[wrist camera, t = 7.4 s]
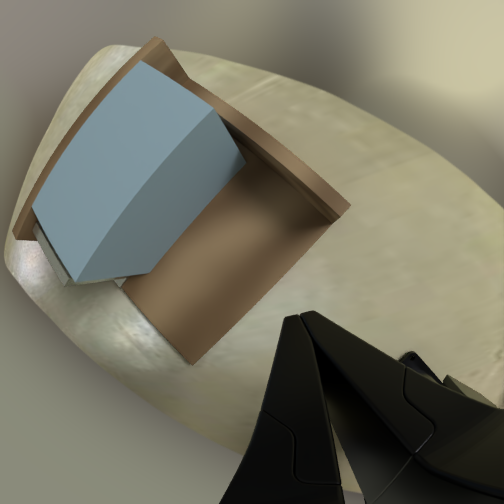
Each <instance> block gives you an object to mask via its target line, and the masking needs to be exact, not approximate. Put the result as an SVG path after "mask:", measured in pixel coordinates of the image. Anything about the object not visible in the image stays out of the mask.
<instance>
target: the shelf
mask: <svg viewBox="0 0 504 504" xmlns="http://www.w3.org/2000/svg"><path fill="white" fill-rule="evenodd" d="M140 60H141V61H143V62H145V63H146V64H148V65H150V66H151V67H153V68H154V69H156V70H158V71H159V72H161V73H163V74H164V75H166V76H167V77H169V78H170V79H172V80H173V81H175V82H177V83H178V84H180V85H181V86H183V87H184V88H186V89H187V90H189V91H190V92H192V93H193V94H195V95H196V96H197V97H199V98H200V99H202V100H203V101H205V102H206V103H207V104H209V105H210V106H212V107H213V108H214V109H215V111H216V112H217V114H218V116H219V117H220V119H221V121H222V122H223V124H224V126H225V127H226V129H227V131H228V132H229V134H230V136H231V137H232V139H233V141H234V142H235V144H236V146H237V148H238V149H239V151H240V153H241V154H242V156H243V158H244V160H245V161H246V164H245V165H244V166H243V167H242V168H241V169H240V170H239V171H238V172H237V173H236V174H235V176H234V177H233V178H232V179H231V180H230V181H229V182H228V183H227V184H226V185H225V186H224V187H223V188H222V189H221V190H220V192H219V193H218V194H217V195H216V196H215V197H214V198H213V199H212V200H211V201H210V203H209V204H208V205H207V206H206V207H205V208H204V209H203V210H202V211H201V213H200V214H199V215H198V216H197V217H196V218H195V219H194V220H193V222H192V223H191V224H190V225H189V226H188V227H187V228H186V230H185V231H184V232H183V233H182V234H181V235H180V237H179V238H178V239H177V240H176V241H175V242H174V244H173V245H172V246H171V247H170V248H169V250H168V251H167V252H166V253H165V254H164V256H163V257H162V258H161V259H160V260H159V262H158V263H157V264H156V265H155V267H154V268H153V269H152V270H151V271H150V273H146V274H138V275H131V276H130V277H129V278H128V279H127V281H126V282H125V283H124V285H123V286H122V289H123V290H124V291H125V292H126V293H127V295H128V296H129V297H130V298H131V300H132V301H133V302H134V303H135V304H136V305H137V307H138V308H139V309H140V310H141V311H142V312H143V314H144V315H145V316H146V317H147V318H148V319H149V320H150V322H151V323H152V324H153V325H154V326H155V327H156V328H157V329H158V330H159V332H160V333H161V334H162V335H163V336H164V337H165V338H166V339H167V340H168V341H169V342H170V343H171V344H172V345H173V346H174V347H175V348H176V350H177V351H178V352H179V353H180V354H181V355H182V356H183V357H184V358H185V359H186V360H187V361H188V362H189V363H190V364H191V365H192V366H193V365H194V364H195V363H196V362H197V361H198V360H199V359H200V358H201V357H202V356H203V355H204V354H205V353H206V352H207V351H208V350H209V349H210V348H212V347H213V346H214V345H215V344H216V343H217V342H218V341H219V340H220V339H221V338H222V337H223V336H224V335H225V334H226V333H227V332H228V331H229V330H230V329H231V328H232V327H233V326H234V325H235V324H236V323H237V322H238V321H239V320H240V319H241V318H242V317H243V316H244V315H245V314H246V313H247V312H248V311H249V310H250V309H251V308H252V307H253V306H254V305H255V304H256V303H257V302H258V301H259V300H260V299H261V298H262V297H263V296H264V295H265V294H266V293H267V292H268V291H269V290H270V289H271V288H272V287H273V286H274V285H275V284H276V283H277V282H278V281H279V280H280V279H281V278H282V277H283V276H284V275H285V274H286V273H287V272H288V271H289V270H290V268H291V267H292V266H293V265H294V264H295V263H296V262H297V261H298V260H299V259H300V258H301V257H302V256H303V255H304V254H305V253H306V252H307V251H308V250H309V248H310V247H311V246H312V245H313V244H314V243H315V242H316V241H317V240H318V239H319V238H320V237H321V236H322V235H323V233H324V232H325V231H326V230H327V229H328V228H329V227H330V226H331V225H332V224H333V223H334V222H335V221H336V220H337V219H339V218H340V217H341V216H342V215H343V214H344V213H345V211H346V210H347V209H348V208H349V207H350V206H351V204H350V203H349V202H347V201H346V200H345V199H344V198H343V197H342V196H341V195H340V194H339V193H338V192H337V191H336V190H335V189H333V188H332V187H331V186H330V185H329V184H328V183H327V182H326V181H325V180H324V179H322V178H321V177H320V176H319V175H318V174H317V173H316V172H314V171H313V170H312V169H311V168H310V167H309V166H307V165H306V164H305V163H304V162H303V161H302V160H300V159H299V158H298V157H297V156H296V155H294V154H293V153H292V152H291V151H290V150H288V149H287V148H286V147H285V146H283V145H282V144H281V143H280V142H278V141H277V140H276V139H275V138H273V137H272V136H271V135H270V134H268V133H267V132H266V131H264V130H263V129H262V128H260V127H259V126H258V125H256V124H255V123H254V122H252V121H251V120H250V119H248V118H247V117H246V116H244V115H243V114H242V113H240V112H239V111H237V110H236V109H235V108H233V107H232V106H230V105H229V104H227V103H226V102H225V101H223V100H222V99H220V98H219V97H217V96H216V95H214V94H213V93H211V92H210V91H208V90H207V89H205V88H204V87H202V86H201V85H199V84H198V83H196V82H194V81H193V80H191V79H190V78H189V77H188V76H187V74H186V73H185V71H184V70H183V68H182V67H181V65H180V64H179V62H178V61H177V59H176V58H175V56H174V55H173V53H172V52H171V51H170V49H169V48H168V46H167V45H166V44H165V42H164V41H163V40H162V39H160V38H158V37H153V38H152V39H151V40H150V41H149V42H148V43H147V44H146V45H144V46H143V47H142V48H141V49H140V50H139V51H138V52H137V53H136V54H135V55H134V56H133V57H132V58H130V59H129V60H128V61H127V62H126V63H125V64H124V65H123V66H122V67H121V68H120V69H119V71H118V72H117V73H116V74H115V75H114V76H113V77H112V78H111V79H110V80H109V81H108V82H107V83H106V84H105V86H104V87H103V88H102V89H101V90H100V91H99V92H98V94H97V95H96V96H95V97H94V98H93V100H92V101H91V102H90V103H89V104H88V106H87V107H86V108H85V109H84V111H83V112H82V113H81V114H80V116H79V117H78V118H77V120H76V121H75V122H74V124H73V125H72V126H71V128H70V129H69V131H68V132H67V133H66V135H65V136H64V138H63V139H62V141H61V142H60V144H59V145H58V147H57V148H56V150H55V151H54V153H53V154H52V156H51V157H50V159H49V161H48V162H47V164H46V166H45V167H44V169H43V171H42V172H41V174H40V176H39V178H38V179H37V181H36V183H35V185H34V187H33V188H32V190H31V192H30V194H29V196H28V198H27V200H26V202H25V204H24V206H23V208H22V210H21V212H20V214H19V217H18V219H17V221H16V223H15V226H14V228H13V230H12V232H13V234H14V236H15V239H16V240H29V241H37V239H36V237H35V235H34V233H33V231H32V230H33V228H34V226H35V224H36V222H39V220H38V218H37V216H36V214H35V212H34V210H33V208H32V205H33V203H34V201H35V199H36V197H37V195H38V193H39V192H40V190H41V188H42V186H43V185H44V183H45V181H46V179H47V178H48V176H49V174H50V173H51V171H52V169H53V168H54V166H55V165H56V163H57V161H58V160H59V158H60V157H61V155H62V154H63V152H64V151H65V149H66V148H67V146H68V145H69V143H70V142H71V141H72V139H73V138H74V136H75V135H76V134H77V132H78V131H79V129H80V128H81V127H82V125H83V124H84V123H85V122H86V120H87V119H88V118H89V116H90V115H91V114H92V113H93V111H94V110H95V109H96V108H97V107H98V105H99V104H100V103H101V102H102V101H103V99H104V98H105V97H106V96H107V95H108V94H109V93H110V91H111V90H112V89H113V88H114V87H115V86H116V85H117V84H118V83H119V82H120V81H121V79H122V78H123V77H124V76H125V75H126V74H127V73H128V72H129V71H130V70H131V69H132V68H133V67H134V66H135V65H136V64H137V63H138V62H139V61H140Z"/></svg>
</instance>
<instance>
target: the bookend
mask: <svg viewBox="0 0 504 504" xmlns="http://www.w3.org/2000/svg"><path fill="white" fill-rule="evenodd" d="M32 231H33V233H34V235H35V237H36V239H37V241H38V242H39V244H40V246H41V248H42V250H43V252H44V254H45V255H46V257H47V259H48V261H49V262H50V264H51V266H52V268H53V269H54V271H55V273H56V274H57V276H58V278H59V279H60V281H61V282H62V284H63V286H64V287H65V286H73V285H80V284H88V283H95V282H103V281H110V280H114V281H115V282H116V284H117V285H118V286H119V288H120V287H122V286H123V285H124V283H125V282H126V281H127V279H128V278H129V277H130V276H123V277H115V278H107V279H99V280H90V281H82V282H75V281H74V280H73V278H72V277H71V275H70V274H69V272H68V270H67V269H66V267H65V266H64V264H63V262H62V261H61V259H60V258H59V256H58V254H57V253H56V251H55V249H54V247H53V246H52V244H51V242H50V241H49V239H48V237H47V235H46V233H45V231H44V230H43V228H42V226H41V224H40V222H36V224H35V226H34V228H33V230H32Z"/></svg>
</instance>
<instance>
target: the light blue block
mask: <svg viewBox="0 0 504 504" xmlns="http://www.w3.org/2000/svg"><path fill="white" fill-rule="evenodd" d="M245 164H246V161H245V160H244V158H243V156H242V154H241V153H240V151H239V149H238V148H237V146H236V144H235V142H234V141H233V139H232V137H231V136H230V134H229V132H228V131H227V129H226V127H225V126H224V124H223V122H222V121H221V119H220V117H219V116H218V114H217V112H216V111H215V109H214V108H213V107H212V106H210V105H209V104H207V103H206V102H205V101H203V100H202V99H200V98H199V97H197V96H196V95H195V94H193V93H192V92H190V91H189V90H187V89H186V88H184V87H183V86H181V85H180V84H178V83H177V82H175V81H173V80H172V79H170V78H169V77H167V76H166V75H164V74H163V73H161V72H159V71H158V70H156V69H154V68H153V67H151V66H150V65H148V64H146V63H145V62H143V61H141V60H140V61H139V62H138V63H137V64H136V65H135V66H134V67H133V68H132V69H131V70H130V71H129V72H128V73H127V74H126V75H125V76H124V77H123V78H122V79H121V81H120V82H119V83H118V84H117V85H116V86H115V87H114V88H113V89H112V90H111V91H110V93H109V94H108V95H107V96H106V97H105V98H104V99H103V101H102V102H101V103H100V104H99V105H98V107H97V108H96V109H95V110H94V111H93V113H92V114H91V115H90V116H89V118H88V119H87V120H86V122H85V123H84V124H83V125H82V127H81V128H80V129H79V131H78V132H77V134H76V135H75V136H74V138H73V139H72V141H71V142H70V143H69V145H68V146H67V148H66V149H65V151H64V152H63V154H62V155H61V157H60V158H59V160H58V161H57V163H56V165H55V166H54V168H53V169H52V171H51V173H50V174H49V176H48V178H47V179H46V181H45V183H44V185H43V186H42V188H41V190H40V192H39V193H38V195H37V197H36V199H35V201H34V203H33V205H32V208H33V210H34V212H35V214H36V216H37V218H38V220H39V222H40V224H41V226H42V228H43V230H44V231H45V233H46V235H47V237H48V239H49V241H50V242H51V244H52V246H53V247H54V249H55V251H56V253H57V254H58V256H59V258H60V259H61V261H62V262H63V264H64V266H65V267H66V269H67V270H68V272H69V274H70V275H71V277H72V278H73V280H74V281H75V282H82V281H90V280H99V279H107V278H115V277H123V276H131V275H138V274H146V273H150V271H151V270H152V269H153V268H154V267H155V265H156V264H157V263H158V262H159V260H160V259H161V258H162V257H163V256H164V254H165V253H166V252H167V251H168V250H169V248H170V247H171V246H172V245H173V244H174V242H175V241H176V240H177V239H178V238H179V237H180V235H181V234H182V233H183V232H184V231H185V230H186V228H187V227H188V226H189V225H190V224H191V223H192V222H193V220H194V219H195V218H196V217H197V216H198V215H199V214H200V213H201V211H202V210H203V209H204V208H205V207H206V206H207V205H208V204H209V203H210V201H211V200H212V199H213V198H214V197H215V196H216V195H217V194H218V193H219V192H220V190H221V189H222V188H223V187H224V186H225V185H226V184H227V183H228V182H229V181H230V180H231V179H232V178H233V177H234V176H235V174H236V173H237V172H238V171H239V170H240V169H241V168H242V167H243V166H244V165H245Z"/></svg>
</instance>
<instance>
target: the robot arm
mask: <svg viewBox="0 0 504 504" xmlns="http://www.w3.org/2000/svg"><path fill="white" fill-rule="evenodd" d="M412 355H413V358H412V359H410V357H411V356H412ZM330 421H331V423H332V425H333V427H334V430H335V432H336V434H337V436H338V439H339V441H340V443H341V445H342V448H343V450H344V452H345V455H346V457H347V459H348V461H349V464H350V466H351V468H352V470H353V473H354V475H355V477H356V479H357V482H358V484H359V486H360V489H361V491H362V493H363V495H364V500H365V504H504V409H500V408H497V407H496V405H494V404H493V403H492V402H490V401H489V400H488V399H487V398H485V397H484V396H483V395H481V394H480V393H478V392H477V391H475V390H473V389H472V388H470V387H468V386H466V385H465V384H463V383H461V382H459V381H458V380H456V379H454V378H453V377H451V376H449V375H446V377H445V378H444V380H443V383H442V382H441V381H440V380H439V379H438V377H437V376H436V375H435V374H434V373H433V372H432V370H431V369H430V368H429V367H428V366H427V365H426V364H425V363H424V361H423V360H422V359H421V358H420V357H419V356H418V355H417V354H416V353H415V352H414V351H410V352H409V353H407V355H406V356H405V357H404V358H403V359H402V360H401V361H400V362H399V361H397V360H395V359H394V358H392V357H390V356H389V355H387V354H385V353H384V352H382V351H380V350H378V349H377V348H375V347H373V346H372V345H370V344H369V343H367V342H365V341H364V340H362V339H360V338H359V337H357V336H355V335H354V334H352V333H350V332H349V331H347V330H345V329H344V328H342V327H340V326H339V325H337V324H336V323H334V322H332V321H331V320H329V319H327V318H326V317H324V316H322V315H321V314H319V313H318V312H316V311H308V312H304V313H301V314H300V316H299V315H298V314H296V315H291V316H287V317H285V318H284V320H283V324H282V329H281V333H280V337H279V341H278V345H277V349H276V353H275V357H274V361H273V365H272V369H271V373H270V376H269V380H268V384H267V388H266V391H265V395H264V399H263V402H262V406H261V411H260V412H259V416H258V419H257V423H256V426H255V429H254V432H253V435H252V438H251V441H250V443H249V446H248V448H247V450H246V452H245V455H244V457H243V459H242V461H241V463H240V465H239V467H238V469H237V471H236V473H235V475H234V477H233V479H232V481H231V483H230V484H229V486H228V488H227V490H226V492H225V494H224V496H223V497H222V499H221V501H220V503H219V504H345V500H344V495H343V489H342V486H341V477H340V471H339V466H338V460H337V455H336V449H335V444H334V438H333V433H332V428H331V423H330Z"/></svg>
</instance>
